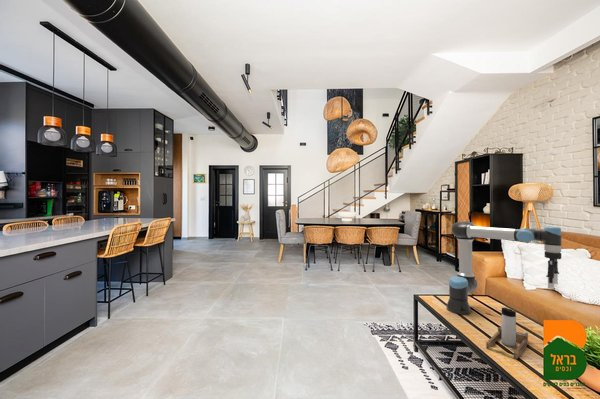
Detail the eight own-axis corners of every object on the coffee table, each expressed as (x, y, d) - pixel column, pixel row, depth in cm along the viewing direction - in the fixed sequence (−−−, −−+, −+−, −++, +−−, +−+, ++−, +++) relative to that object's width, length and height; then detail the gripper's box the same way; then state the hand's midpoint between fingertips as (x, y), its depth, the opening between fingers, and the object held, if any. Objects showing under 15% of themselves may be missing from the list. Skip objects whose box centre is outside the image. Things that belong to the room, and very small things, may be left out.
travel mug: (498, 341, 147) (498, 306, 147) (509, 341, 148) (508, 306, 148) (508, 348, 141) (507, 311, 141) (519, 347, 141) (519, 310, 142)
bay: (486, 348, 141) (486, 338, 141) (501, 332, 158) (501, 324, 158) (516, 359, 131) (516, 349, 131) (529, 341, 148) (529, 332, 148)
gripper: (558, 255, 150) (558, 292, 150) (564, 250, 165) (564, 283, 165) (540, 253, 156) (540, 288, 155) (547, 248, 171) (548, 280, 171)
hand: (552, 286), depth 160 cm, fingers open, 13 cm apart
